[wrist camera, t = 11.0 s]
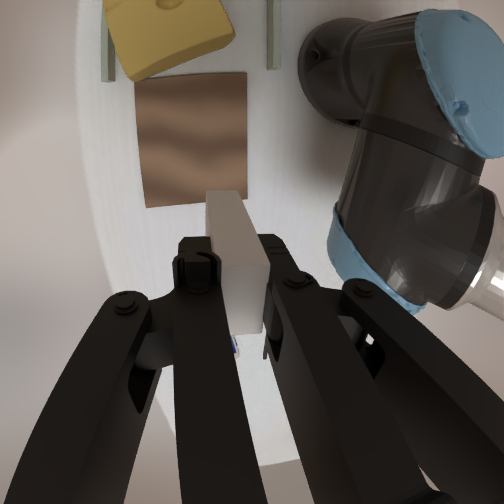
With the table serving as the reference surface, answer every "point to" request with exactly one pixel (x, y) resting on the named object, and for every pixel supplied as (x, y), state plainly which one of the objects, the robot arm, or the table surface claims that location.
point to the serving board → (191, 136)
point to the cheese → (164, 32)
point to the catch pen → (272, 42)
